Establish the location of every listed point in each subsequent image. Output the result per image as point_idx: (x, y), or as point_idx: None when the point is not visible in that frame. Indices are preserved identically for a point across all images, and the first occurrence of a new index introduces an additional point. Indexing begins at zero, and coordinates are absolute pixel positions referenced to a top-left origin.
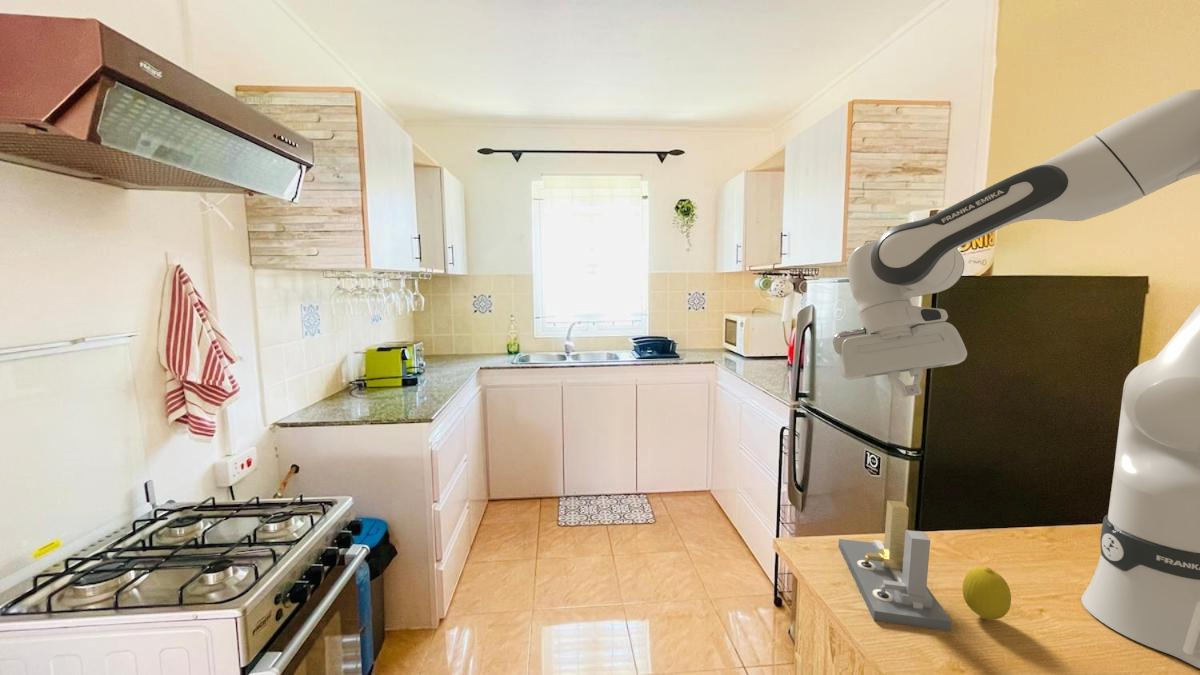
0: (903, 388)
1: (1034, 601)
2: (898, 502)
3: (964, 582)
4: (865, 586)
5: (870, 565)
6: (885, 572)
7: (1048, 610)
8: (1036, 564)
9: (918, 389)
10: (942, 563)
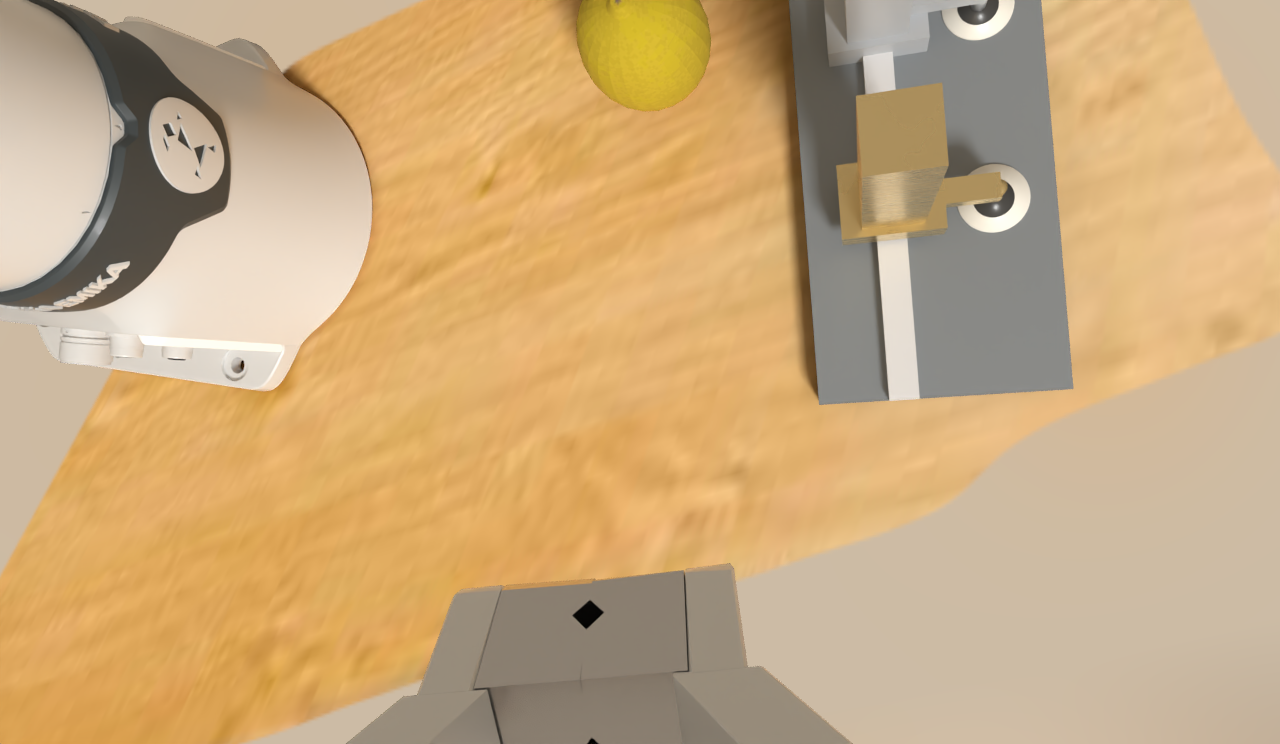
0: (725, 628)
1: (484, 226)
2: (891, 157)
3: (700, 35)
4: (1031, 40)
5: None
6: None
7: (469, 190)
8: (380, 460)
9: (486, 618)
10: (675, 374)
